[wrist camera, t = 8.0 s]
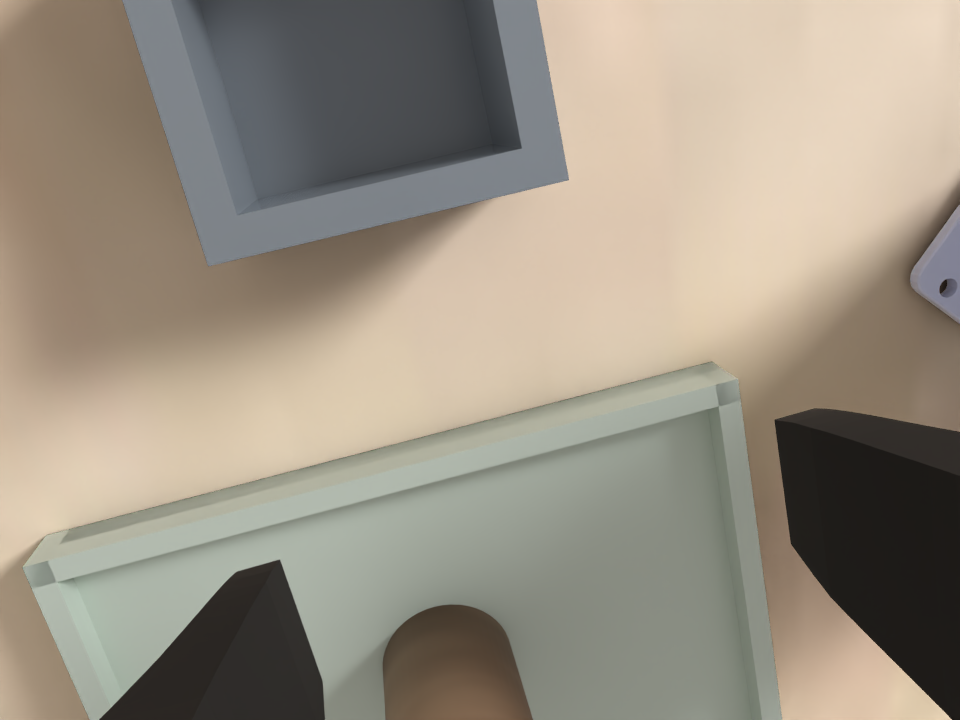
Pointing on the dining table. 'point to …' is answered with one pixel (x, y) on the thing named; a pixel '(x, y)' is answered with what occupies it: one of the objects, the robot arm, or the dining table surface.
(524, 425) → the tray
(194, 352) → the dining table surface
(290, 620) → the robot arm
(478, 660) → the dowel
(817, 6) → the dining table surface
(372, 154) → the grey square socket
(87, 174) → the dining table surface
